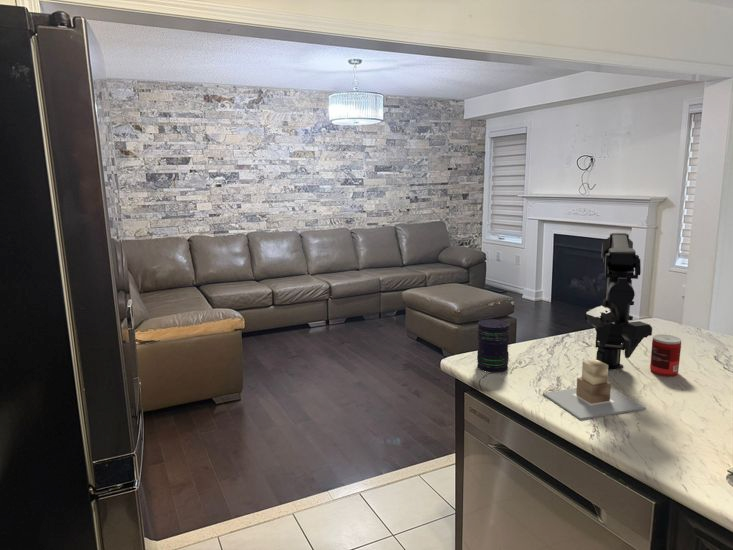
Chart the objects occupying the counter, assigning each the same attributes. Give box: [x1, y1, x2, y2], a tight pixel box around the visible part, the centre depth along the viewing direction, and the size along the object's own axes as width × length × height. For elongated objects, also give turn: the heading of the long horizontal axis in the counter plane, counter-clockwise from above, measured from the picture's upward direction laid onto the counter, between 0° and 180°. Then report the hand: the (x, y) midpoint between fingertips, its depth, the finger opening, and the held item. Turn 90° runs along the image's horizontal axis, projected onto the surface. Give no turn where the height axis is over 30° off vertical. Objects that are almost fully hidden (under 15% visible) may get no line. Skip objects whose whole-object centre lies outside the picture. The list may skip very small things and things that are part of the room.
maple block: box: [581, 359, 609, 385], centre depth 137 cm, size 4×4×5 cm
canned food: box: [649, 333, 682, 377], centre depth 156 cm, size 8×8×11 cm
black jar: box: [476, 318, 510, 374], centre depth 162 cm, size 10×10×15 cm
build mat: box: [542, 387, 647, 421], centre depth 138 cm, size 20×16×1 cm
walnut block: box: [576, 376, 612, 404], centre depth 138 cm, size 6×6×5 cm
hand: (614, 352), depth 138 cm, fingers open, 9 cm apart
